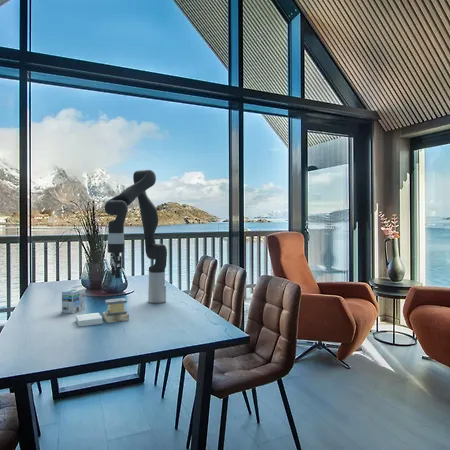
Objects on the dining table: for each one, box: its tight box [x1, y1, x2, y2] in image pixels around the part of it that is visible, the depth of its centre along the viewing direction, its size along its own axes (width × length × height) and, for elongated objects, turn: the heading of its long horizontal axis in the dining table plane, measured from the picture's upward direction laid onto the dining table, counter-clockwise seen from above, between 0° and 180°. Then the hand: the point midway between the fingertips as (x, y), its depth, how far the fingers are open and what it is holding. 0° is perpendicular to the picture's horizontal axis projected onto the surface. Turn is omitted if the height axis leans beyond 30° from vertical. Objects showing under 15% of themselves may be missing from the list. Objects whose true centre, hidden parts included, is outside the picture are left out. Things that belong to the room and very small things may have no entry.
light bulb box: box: [61, 287, 86, 314], centre depth 182 cm, size 11×7×11 cm, turn 168°
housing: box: [104, 297, 128, 316], centre depth 169 cm, size 9×6×6 cm, turn 119°
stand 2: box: [102, 311, 130, 324], centre depth 169 cm, size 10×10×2 cm
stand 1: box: [75, 312, 103, 327], centre depth 163 cm, size 10×10×2 cm
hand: (115, 276), depth 168 cm, fingers open, 8 cm apart
